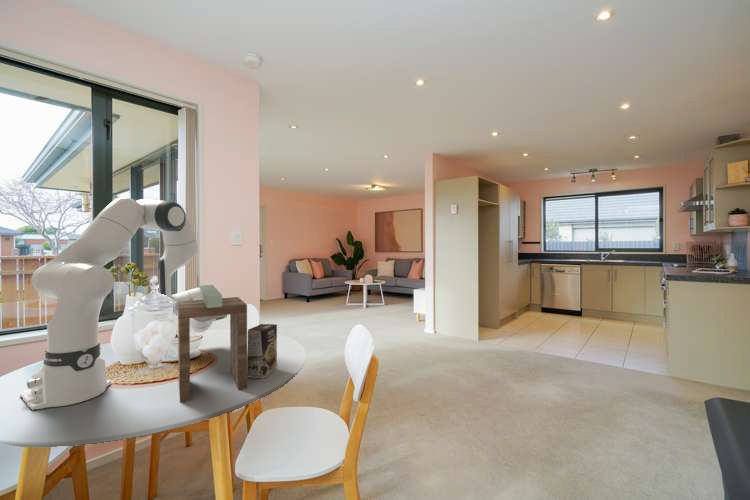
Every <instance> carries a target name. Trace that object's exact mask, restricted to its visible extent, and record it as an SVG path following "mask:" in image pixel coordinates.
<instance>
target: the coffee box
mask: <svg viewBox="0 0 750 500" xmlns="http://www.w3.org/2000/svg"><path fill="white" fill-rule="evenodd" d="M277 338H278V324H275V323H274V324H273V323H271V324H270V323H260V324H258V325H256V326H253V327H251V328H249V329H247V378H251V379H253V378H254V379H255V378H256V379H260V380H261V379H266V378H267V377H268V376H269V375H271V374H272V373H273V372H274V371H276V370H277V369H278V358H277V357H278V353H277V352H278V349H277V348H278V343H277V342H278V339H277Z"/></svg>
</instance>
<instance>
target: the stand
mask: <svg viewBox="0 0 750 500" xmlns="http://www.w3.org/2000/svg"><path fill="white" fill-rule="evenodd" d="M219 315H227V316H230V317H229V321H230V322H229V325H230V327H229V331H230V332H229V333H230V334H229V335H230V337H229V338H230V339H229V340H230V341H229V342H230V344H229V345H230V347H229V348H230V351H229V353H230V354H229V355H230V375H231V377H232V379H233V381H234V384H235V386H236V388H237V391H241V390H246V389H248V377H247V371H248V304H247V303H245V301H244V300H242V299H241V298H240V297H238V296H235V297H234V296H233V297H222V307H214V308H207V307H206V305H205V303H204V301H203V300H191V301H178V319H177V323H178V324H177V325H178V326H177V329H178V333H177V335H178V336H177V337H178V338H177V340H178V342H177V343H178V348H177V349H178V350H177V352H178V354H177V356H178V358H177V359H178V361H177V362H178V363H177V364H178V391H179V392H178V393H179V403H183V402H188V401H191V364H190V363H191V357H190V356H191V352H190V351H191V350H190V347H191V346H190V345H191V344H190V342H191V339H190V337H191V336H190V335H191V334H190V333H191V331H190V330H191V328H190V318H198V317H209V316H219Z"/></svg>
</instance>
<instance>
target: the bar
mask: <svg viewBox="0 0 750 500" xmlns="http://www.w3.org/2000/svg"><path fill="white" fill-rule="evenodd" d="M199 288H200V296H201V298H202V300H203V301H204V303H205V305H206V307H207V308H214V307H222V298H223V294H222V293H221V292H220V291H219V289H217V288H216V286H214V285H213V284H208V285H207V284H206V285H205V284H204V285H203V284H202V285H200V286H199Z"/></svg>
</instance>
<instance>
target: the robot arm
mask: <svg viewBox="0 0 750 500" xmlns="http://www.w3.org/2000/svg"><path fill="white" fill-rule="evenodd" d="M139 229H144V230H150V231H156V232H157V231H158V232H159V231H160V233H161V234H162V240H163V244H164V245H163V246H164V251H163V254H162V256H161V257H160V258H159V259H158V262H157V285H158V284H159V288H158V287H157V288H158V289H157V290H158V292H159V293H161V294H164V295H167V296H168V297H170V298H171V299H173V300H174V301H176V302H175V303H173V313H174V314H175V315H176V316H178V301H191V300H202V298H201V296H200V286H199V287H198V286H197V287H195V288H191V289H188V290H185V291H181V292H177V293H175V294H174V293H173V294H172V281H171V280H172V276H173V274H174V273H175V272H176V271H177V270H179V269H181V268H182V267H184V266H185V265H187V264H189V263H190V262H191V261H192V260H193V259H195V257H196V256H197V253H198V242H197V238H196V237H197V236H196V232H195V230H194V227H193V225H192V222H191V220H190V218H189V216H188V215H187V214H186V211H185V210H184V208H183V207H182V206H181V205H180V204H179V203H178V202H176V201H171V200H162V199H155V198H145V199H144V198H143V199H142V198H137V199H133V198H131V197H127V196H125V197H124V196H122V197H117V198H115V199H114V200H112V201H111V202H110V203H109V204H108V205H107V206H105V207H104V208H103V209H102V210H101V211H100V212H99V213H98V214H97V216H96V217H95V218H94V219H93V220H92V221H91V222H90V224H89V225H88V226H87V228H86V229H84V230H83V232H82V233H81V234H80V236H78V237H77V238H76V239H75V240H74V241H73V242H72V243H70V245H68V246H67V247H66V248H64V250H61V251H60V253H58V254H57V255H55V257H53V258H52V259H51V260H50V261H48V262H46V263H45V264H42V265H41V266H39V267H38V268H37V269H35V271H34V272H33V274H32V275H31V279H30V281H31V286H32V287H33V289H34V290H35V291H36V292H38V293H39V294H41V295H42V296H45V297H47V298H48V299H49V298H50V299H56V300H57V302H56V306H55V310H54V313H53V315H52V317H51V318H50V319H49V321H48V322H47V325H46V335H47V336H46V340H47V342H46V343H47V344H46V346H47V349H46V350H45V351H44V352H45V354H44V356H43V363H42V365H41V366H40V367H39V369H37V371H35V372H34V373H33V374H32V376H31V379H28V380H27V381H26V387H27V389H26V390H23V391H21V392H20V395H19V397H20V396H21V397H22V398H23V399H22V398H21V397H20V398H21V399H22V401H23V402H24V401H25V402H26V403H27V404H26V403H25V402H24V403H25V404H26V406H28V408H29V407H30V408H31V409H32V411H35V410H34V409H36V410H41V409H45V408H46V409H47V408H54V407H55V408H56V407H63V406H71V405H74V404H79V403H82V402H84V401H88V400H91V399H94V398H95V397H98V396H99V395H101V394H103V393H104V392H105V391H106V389H107V387H109V386H110V385H111V384H112V380H111V379H108V378H107V369H106V362H105V361H106V360H105V359H104V358H102V357H100V356H101V343H99V318H100V312H101V309H102V306H103V304H104V300H105V298H106V297H107V296H108V295H109V294H110V293H111V292H112V290H113V288H114V285H115V277H114V275H113V273H112V272H111V271H110V270H109V269H107V268H106V267H105V266H106V265H107V264H108V263H110V262H111V261H114V260H115V259H117V258H118V257H119V256H120V254H121V253H122V252H123V250H125V248H126V247H127V245H128V244H129V243H130V242H131V240H132V238H133V237H134V236H135V235H136V233H137V231H138V230H139ZM227 318H228V315H219V316H209V317H198V318H190V330H191V331H193V332H194V333H196V334H197V333H198V334H199V333H200V334H201V333H204V332H206V331H208V330H209V329H210V328H211V326H212V324H213V323H214V322H216V321H219V320H223V319H227ZM30 408H29V409H30ZM31 409H30V410H31Z"/></svg>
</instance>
